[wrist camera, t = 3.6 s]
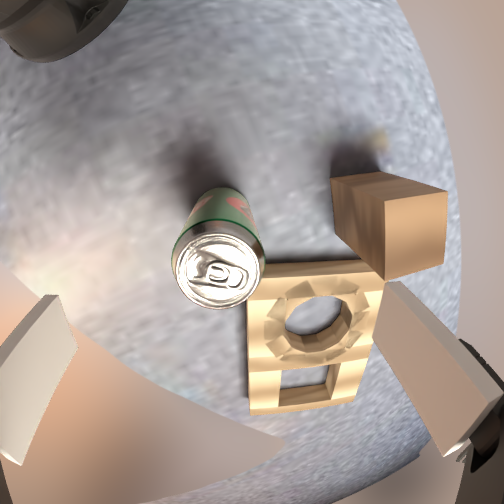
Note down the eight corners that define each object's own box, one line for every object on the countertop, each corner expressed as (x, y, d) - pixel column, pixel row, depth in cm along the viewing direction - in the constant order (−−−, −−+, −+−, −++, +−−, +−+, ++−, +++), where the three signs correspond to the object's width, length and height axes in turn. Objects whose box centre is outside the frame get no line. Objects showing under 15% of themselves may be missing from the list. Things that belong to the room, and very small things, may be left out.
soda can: (203, 179, 24) (180, 211, 13) (258, 196, 25) (282, 242, 14) (187, 232, 25) (159, 301, 14) (240, 247, 26) (249, 324, 15)
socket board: (245, 264, 27) (247, 279, 24) (377, 258, 28) (390, 270, 25) (248, 398, 35) (250, 415, 32) (346, 386, 36) (352, 401, 33)
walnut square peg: (329, 178, 25) (384, 201, 15) (380, 171, 25) (447, 191, 15) (335, 233, 27) (384, 281, 17) (383, 224, 27) (443, 263, 17)
